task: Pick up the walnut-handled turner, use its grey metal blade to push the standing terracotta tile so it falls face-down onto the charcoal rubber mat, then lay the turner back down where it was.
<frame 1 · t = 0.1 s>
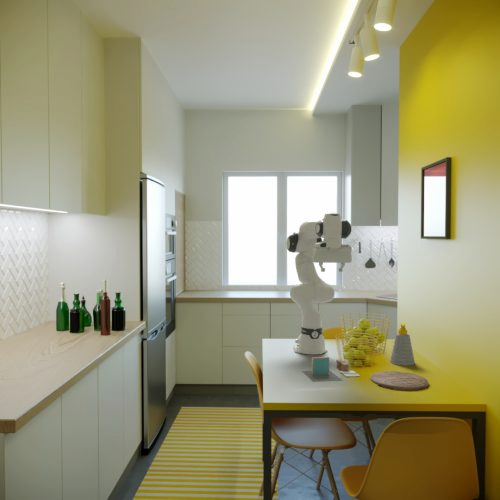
hand: (331, 271, 243), 48 cm above the table, tool pointing down, fingers open, 8 cm apart
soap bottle: (402, 363, 252), on the table
turner: (345, 372, 231), on the table
mat: (321, 376, 224), on the table
trivet: (398, 383, 217), on the table
tile: (320, 374, 226), resting on mat
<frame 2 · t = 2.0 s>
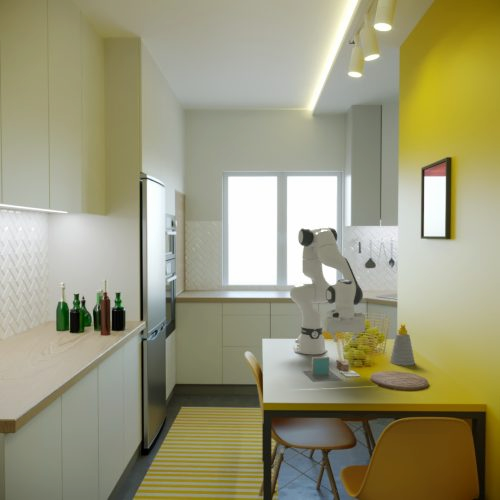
hand: (344, 341, 233), 15 cm above the table, tool pointing down, fingers open, 8 cm apart
nothing on the table moved.
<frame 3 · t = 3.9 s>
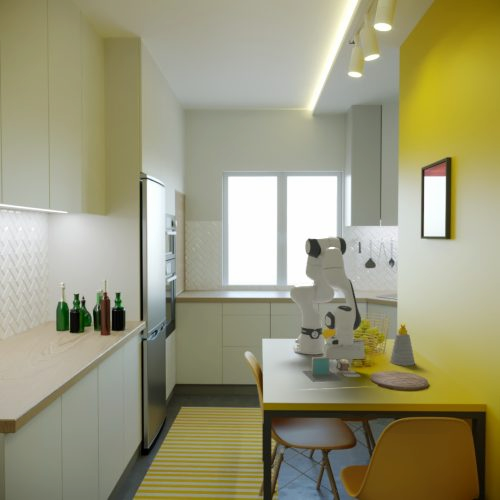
hand: (343, 367, 234), 2 cm above the table, tool pointing down, fingers closed on turner, 3 cm apart
turner: (345, 372, 231), on the table, touching gripper
everything else where it was.
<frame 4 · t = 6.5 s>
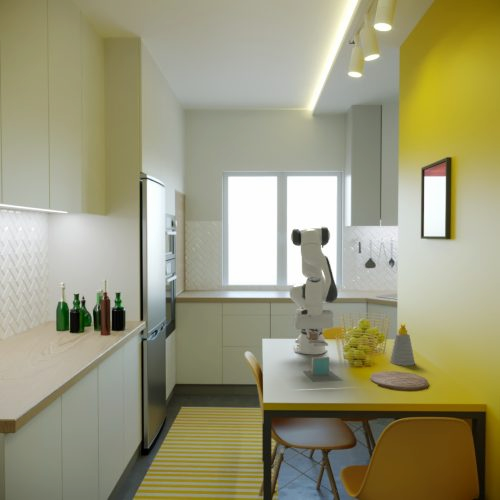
hand: (313, 337, 241), 15 cm above the table, tool pointing down, fingers closed on turner, 3 cm apart
turner: (314, 341, 239), point 13 cm above the table, touching gripper
everything else where it was.
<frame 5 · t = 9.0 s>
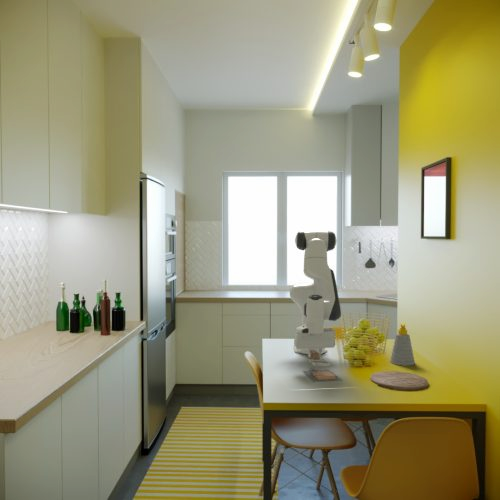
hand: (314, 356, 234), 7 cm above the table, tool pointing down, fingers closed on turner, 3 cm apart
turner: (316, 361, 232), point 5 cm above the table, touching gripper
tile: (320, 372, 225), point 1 cm above the table, tilted 90°, touching mat
everything else where it was.
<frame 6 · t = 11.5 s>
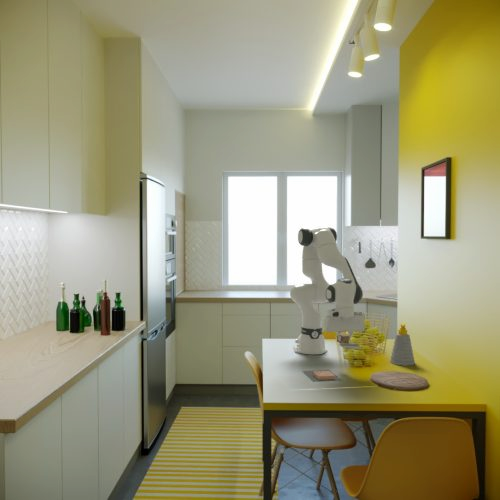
hand: (344, 340, 234), 15 cm above the table, tool pointing down, fingers closed on turner, 3 cm apart
turner: (346, 345, 231), point 13 cm above the table, touching gripper
everything else where it was.
when the fingers open (3 cm above the table, at t = 13.8 s): turner drops 2 cm, on the table.
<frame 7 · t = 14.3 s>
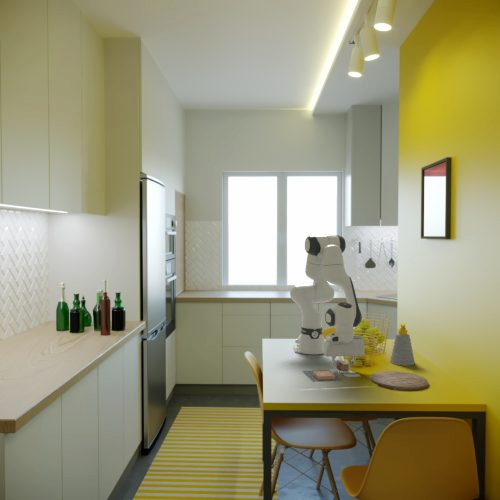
hand: (344, 364, 234), 3 cm above the table, tool pointing down, fingers open, 7 cm apart
turner: (345, 372, 231), on the table
everything else where it was.
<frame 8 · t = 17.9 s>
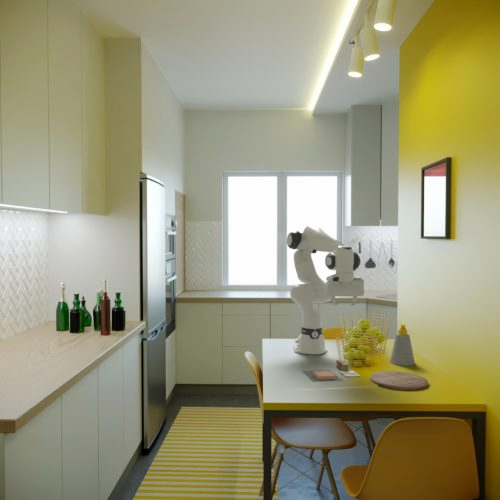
hand: (344, 305, 242), 31 cm above the table, tool pointing down, fingers open, 8 cm apart
nothing on the table moved.
at the end: tile tilted 90°; tile inside the target area (0.0 cm from its centre), point 1.4 cm above the table; turner inside the target area (0.5 cm from its centre), on the table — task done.
